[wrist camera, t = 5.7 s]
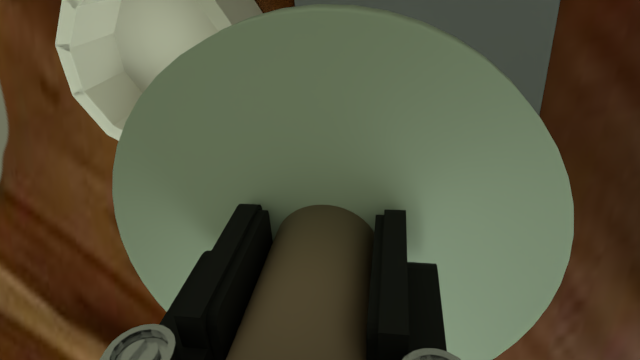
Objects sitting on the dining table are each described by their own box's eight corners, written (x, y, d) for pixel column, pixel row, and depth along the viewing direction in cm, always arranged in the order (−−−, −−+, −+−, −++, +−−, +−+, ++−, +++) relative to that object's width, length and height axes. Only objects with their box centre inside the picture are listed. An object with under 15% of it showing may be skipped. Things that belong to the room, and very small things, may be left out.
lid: (616, -11, 9) (926, 77, 4) (520, 383, 15) (588, 631, 9) (74, 15, 11) (-225, 95, 6) (181, 353, 17) (83, 544, 11)
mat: (568, -59, 22) (570, -58, 22) (524, 187, 29) (525, 190, 28) (292, -40, 24) (291, -40, 24) (311, 182, 31) (310, 185, 31)
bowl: (259, -53, 24) (228, -49, 20) (280, 125, 29) (258, 158, 25) (89, -40, 26) (27, -35, 22) (136, 125, 31) (93, 156, 27)
